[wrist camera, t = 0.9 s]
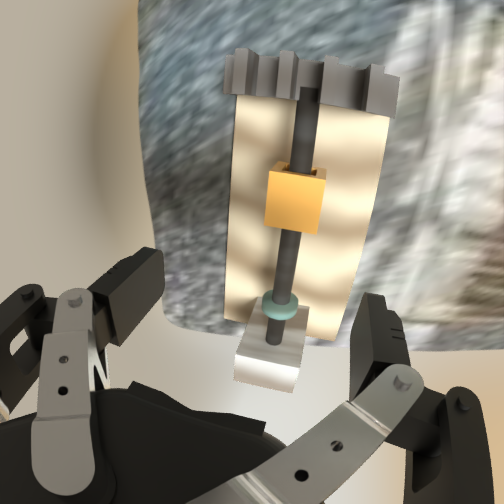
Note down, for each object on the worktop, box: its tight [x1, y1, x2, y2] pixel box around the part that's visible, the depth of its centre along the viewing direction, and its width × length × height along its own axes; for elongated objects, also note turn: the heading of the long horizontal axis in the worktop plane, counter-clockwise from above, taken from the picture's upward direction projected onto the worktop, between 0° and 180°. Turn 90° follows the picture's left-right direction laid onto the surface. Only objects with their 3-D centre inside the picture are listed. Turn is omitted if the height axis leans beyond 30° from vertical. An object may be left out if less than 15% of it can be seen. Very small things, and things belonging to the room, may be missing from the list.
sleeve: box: [264, 161, 327, 235], centre depth 23 cm, size 4×4×4 cm
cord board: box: [223, 48, 400, 393], centre depth 26 cm, size 30×14×12 cm, turn 175°
